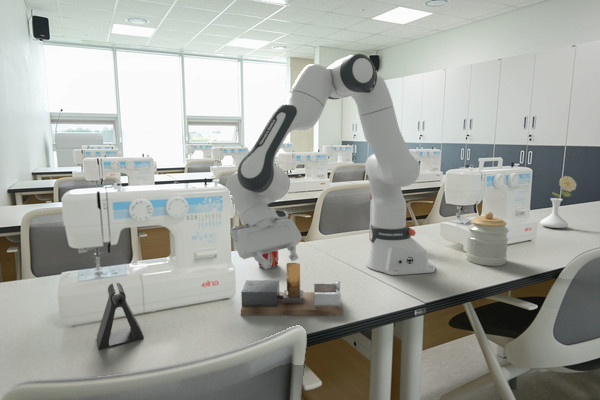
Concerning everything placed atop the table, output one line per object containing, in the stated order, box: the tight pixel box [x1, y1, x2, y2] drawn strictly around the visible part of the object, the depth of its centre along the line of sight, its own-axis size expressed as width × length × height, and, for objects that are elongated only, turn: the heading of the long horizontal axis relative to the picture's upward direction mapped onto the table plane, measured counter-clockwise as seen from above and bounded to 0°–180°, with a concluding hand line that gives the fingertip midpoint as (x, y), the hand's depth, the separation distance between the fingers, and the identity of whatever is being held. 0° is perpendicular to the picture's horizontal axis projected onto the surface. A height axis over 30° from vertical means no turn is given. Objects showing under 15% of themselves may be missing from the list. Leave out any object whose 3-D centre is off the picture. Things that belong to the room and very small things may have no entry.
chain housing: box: [240, 279, 281, 308], centre depth 102 cm, size 9×8×4 cm
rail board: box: [240, 291, 342, 316], centre depth 102 cm, size 25×11×2 cm, turn 89°
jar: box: [465, 211, 510, 267], centre depth 137 cm, size 13×13×18 cm
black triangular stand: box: [96, 282, 145, 351], centre depth 86 cm, size 9×6×12 cm, turn 120°
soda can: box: [257, 250, 279, 269], centre depth 133 cm, size 7×7×12 cm
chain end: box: [278, 262, 304, 304], centre depth 102 cm, size 16×5×10 cm, turn 89°
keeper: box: [313, 280, 342, 307], centre depth 102 cm, size 7×8×5 cm
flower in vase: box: [539, 175, 577, 229], centre depth 186 cm, size 13×11×25 cm
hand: (282, 263), depth 104 cm, fingers open, 8 cm apart
